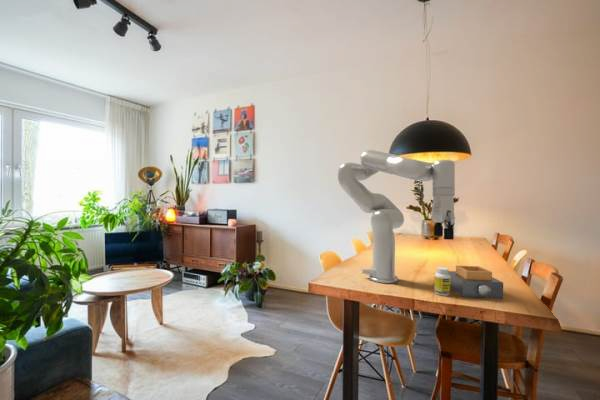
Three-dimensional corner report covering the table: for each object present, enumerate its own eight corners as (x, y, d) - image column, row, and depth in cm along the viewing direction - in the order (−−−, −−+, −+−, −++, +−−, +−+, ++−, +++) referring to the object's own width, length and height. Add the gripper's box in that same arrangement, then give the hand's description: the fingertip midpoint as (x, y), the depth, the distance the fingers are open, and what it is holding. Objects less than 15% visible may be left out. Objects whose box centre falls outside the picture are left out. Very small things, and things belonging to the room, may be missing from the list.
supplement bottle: (443, 296, 102) (443, 270, 102) (431, 292, 107) (431, 267, 107) (453, 294, 104) (453, 269, 104) (441, 290, 109) (441, 265, 109)
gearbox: (464, 298, 100) (464, 273, 100) (446, 285, 116) (446, 263, 116) (505, 300, 98) (506, 275, 98) (482, 286, 114) (482, 265, 114)
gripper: (425, 193, 114) (425, 234, 114) (442, 192, 97) (442, 240, 97) (444, 193, 113) (444, 234, 113) (464, 192, 96) (464, 241, 96)
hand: (443, 237), depth 105 cm, fingers open, 9 cm apart
